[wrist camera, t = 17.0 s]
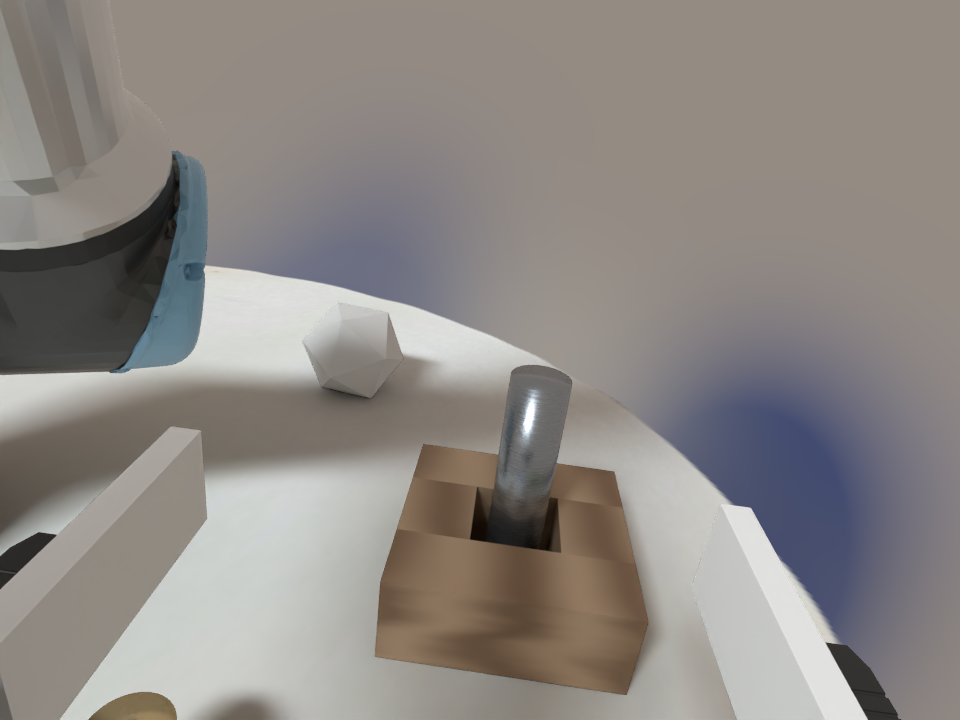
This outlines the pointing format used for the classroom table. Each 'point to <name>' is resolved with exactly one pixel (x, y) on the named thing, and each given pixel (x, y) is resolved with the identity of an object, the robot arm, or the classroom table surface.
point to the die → (353, 349)
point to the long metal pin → (528, 455)
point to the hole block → (512, 580)
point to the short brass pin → (137, 708)
